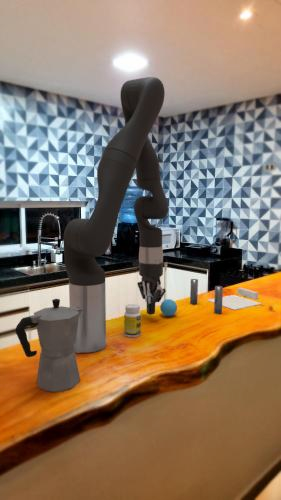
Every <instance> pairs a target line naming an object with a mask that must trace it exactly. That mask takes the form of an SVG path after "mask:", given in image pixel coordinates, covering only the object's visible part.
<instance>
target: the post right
mask: <svg viewBox="0 0 281 500" xmlns="http://www.w3.org/2000/svg"><path fill="white" fill-rule="evenodd" d="M223 289H224V287H223V286H221V285H215V286H214V299H215V300H214V303H213V305H214V307H213V310H214V311H213V313H214V314H215V315H222V314H223V306H222V298H223V297H224V294H223V293H224V292H223V291H224V290H223Z"/></svg>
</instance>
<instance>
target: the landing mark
mask: <svg viewBox="0 0 281 500" xmlns="http://www.w3.org/2000/svg"><path fill="white" fill-rule="evenodd" d="M214 300H215V298H210V299H206V301H208V302H210V303H213V304H214ZM258 305H259V306H261V305H263V303H261V302H257V301H255V300H253V299H250V298H246V297H242V296H238V295H235V294H233V295H232V294H231V295H226V296H223V298H222V307H224V308H228V309H230V310H232V311H233V310H234V311H236V310H241V309H246V308H251V307H255V306H258Z"/></svg>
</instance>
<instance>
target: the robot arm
mask: <svg viewBox="0 0 281 500" xmlns="http://www.w3.org/2000/svg"><path fill="white" fill-rule="evenodd" d="M165 94H166V92H165V86H164V83H163V82H162V80H161V79H159V78H158V77H154V76H147V77H141V78H136V79H129V80H126V81H125V82H124V83H123V84H122V86H121V88H120V103H121V104H120V105H121V109H122V113H123V117H124V121H125V125H124V126H122V128H121V129H119V131H118V132H117V133H116V134H115V135H113V137H112V138H111V139H110V140H109V141H108V143H107V145H106V146H105V148H104V149H103V152H102V156H101V158H100V160H99V162H98V165H97V169H96V171H97V172H96V179H97V187H98V188H97V189H98V191H97V192H98V194H97V201H96V203H95V205H94V208H93V211H92V213H91V215H90V217H89V218H73V219H72V220H70V221H69V222H68V223H67V224H66V226H65V228H64V232H63V255H64V256H63V257H64V267H65V271H66V274H67V276H68V292H69V293H68V296H69V297H68V298H69V299H68V300H69V301H68V302H69V307H80V308H82V309H84V310H83V311H82V312H81V314H80V316H79V320H78V328H77V335H76V343H75V344H74V351H75V354H79V353H95V352H99V351H101V350H103V349H105V348H106V346H107V317H106V316H107V315H106V314H107V313H106V310H107V308H106V306H107V305H106V302H107V301H106V298H107V297H106V271H105V270H104V269H103V268H102V267H101V266H100V265H99V264H98V262H97V260H96V258H98V257H101V256H102V255H104V254H106V252H107V251H108V249H109V247H110V246H111V243H112V241H113V237H114V234H115V230H116V227H117V222H118V218H119V215H120V211H121V208H122V204H123V203H124V199H125V196H126V193H127V191H128V189H129V185H130V182H131V180H132V178H133V175H134V173H135V175H136V185H137V187H138V188H139V189H141V190H144V191H148V192H149V193H150V194H151V195H147V196H146V195H141V196H138V197H137V198H136V199H135V200H134V203H133V212H134V216H135V219H136V220H135V221H136V222H137V228H138V232H139V252H138V275H139V276H141V280H140V281H138V282H137V287H138V290H139V292H140V296H141V298H142V299H143V300H145V302H146V314H147V315H149V316H150V315H154V314H155V313H156V303H160V302H161V300H162V298H163V296H164V295H165V294H166V292H167V291H166V288H162V285H161V284H162V282H161V277H162V276H163V274H164V251H163V230H162V228H161V227H158V226H155V225H152V224H151V223H150V221H149V220H164V219H165V218H166V217H167V215H168V214H169V209H170V208H169V202H168V199H167V197H166V194H165V191H164V188H163V186H162V185H163V184H162V182H161V171H160V162H159V158H158V157H159V156H158V154H157V152H156V149H155V148H154V146H153V145H152V143H151V141H150V139H149V134H150V132H151V130H152V129H153V126H154V124H155V122H156V120H157V118H158V116H159V114H160V112H161V110H162V108H163V105H164V102H165Z"/></svg>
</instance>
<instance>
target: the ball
mask: <svg viewBox="0 0 281 500" xmlns="http://www.w3.org/2000/svg"><path fill="white" fill-rule="evenodd" d="M159 307H160V308H159V309H160V311H161V313H162V314H163V316H165V317H172V316H174V315H175V314H176V312H177V310H178V305H177V303H176V301H174V300H173V299H165V300H163V301H162V302H161V304H160V306H159Z"/></svg>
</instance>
